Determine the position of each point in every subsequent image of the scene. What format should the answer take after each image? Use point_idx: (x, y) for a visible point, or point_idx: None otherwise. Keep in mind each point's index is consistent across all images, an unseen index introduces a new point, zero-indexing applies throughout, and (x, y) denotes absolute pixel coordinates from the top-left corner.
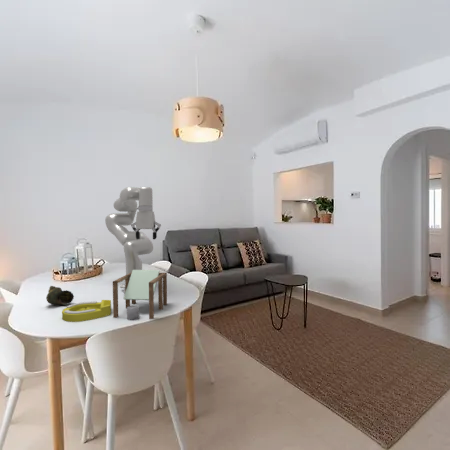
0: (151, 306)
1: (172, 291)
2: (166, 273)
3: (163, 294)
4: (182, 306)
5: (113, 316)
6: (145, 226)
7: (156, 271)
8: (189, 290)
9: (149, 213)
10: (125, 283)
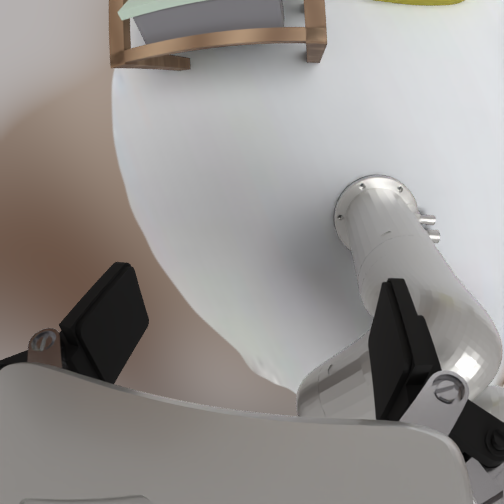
0: None
1: (220, 224)
2: (112, 65)
3: (171, 55)
4: None
5: None
6: (110, 448)
7: (132, 4)
8: (165, 241)
9: None
10: None
